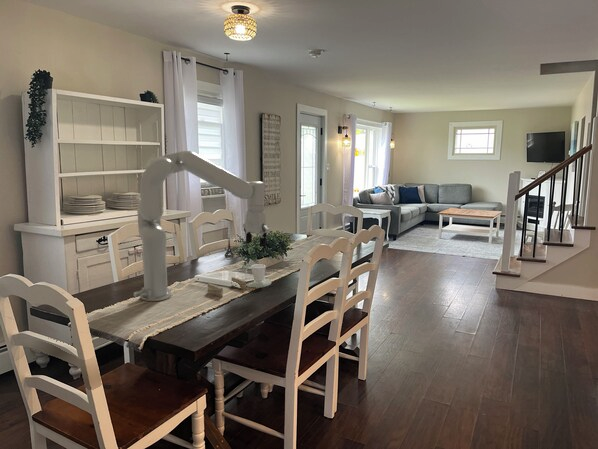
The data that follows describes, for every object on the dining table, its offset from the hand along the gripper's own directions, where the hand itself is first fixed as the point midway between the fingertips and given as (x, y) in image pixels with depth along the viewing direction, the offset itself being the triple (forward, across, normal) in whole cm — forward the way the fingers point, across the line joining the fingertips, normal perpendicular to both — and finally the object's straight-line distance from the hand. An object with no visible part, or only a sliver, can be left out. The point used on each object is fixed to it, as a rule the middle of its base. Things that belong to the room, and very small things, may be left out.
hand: (255, 244), depth 213 cm
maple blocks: (+19, -1, -16) cm, 25 cm away
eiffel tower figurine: (+20, -49, +25) cm, 59 cm away
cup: (+19, 0, 0) cm, 19 cm away
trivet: (+19, 0, +1) cm, 19 cm away
